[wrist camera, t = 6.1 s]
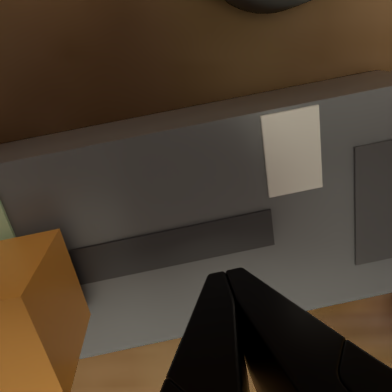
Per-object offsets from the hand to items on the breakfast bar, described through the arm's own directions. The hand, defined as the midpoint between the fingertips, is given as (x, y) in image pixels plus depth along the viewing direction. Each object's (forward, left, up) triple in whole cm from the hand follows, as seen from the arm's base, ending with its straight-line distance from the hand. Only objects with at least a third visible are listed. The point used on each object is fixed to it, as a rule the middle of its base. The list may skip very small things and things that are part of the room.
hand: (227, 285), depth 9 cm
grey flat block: (0, +2, -6) cm, 6 cm away
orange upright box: (0, +5, -2) cm, 6 cm away
